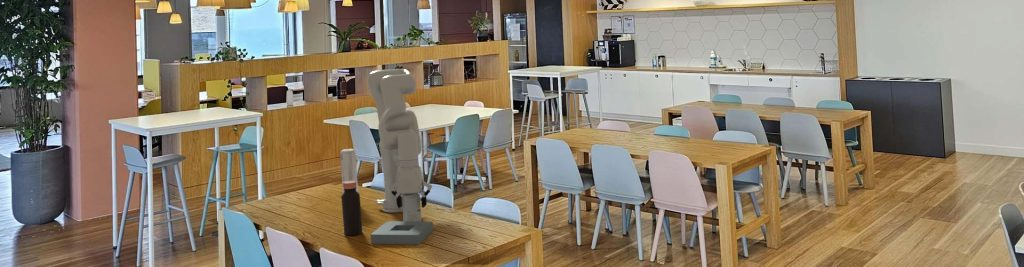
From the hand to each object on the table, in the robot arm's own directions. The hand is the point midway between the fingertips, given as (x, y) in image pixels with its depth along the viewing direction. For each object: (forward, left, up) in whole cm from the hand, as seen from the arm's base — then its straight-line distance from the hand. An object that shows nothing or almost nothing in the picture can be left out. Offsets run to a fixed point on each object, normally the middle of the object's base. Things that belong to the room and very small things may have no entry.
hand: (411, 207), depth 301 cm
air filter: (-37, +30, -7) cm, 48 cm away
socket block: (+2, -17, -7) cm, 19 cm away
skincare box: (0, +1, -7) cm, 7 cm away
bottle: (-19, -13, -7) cm, 25 cm away
